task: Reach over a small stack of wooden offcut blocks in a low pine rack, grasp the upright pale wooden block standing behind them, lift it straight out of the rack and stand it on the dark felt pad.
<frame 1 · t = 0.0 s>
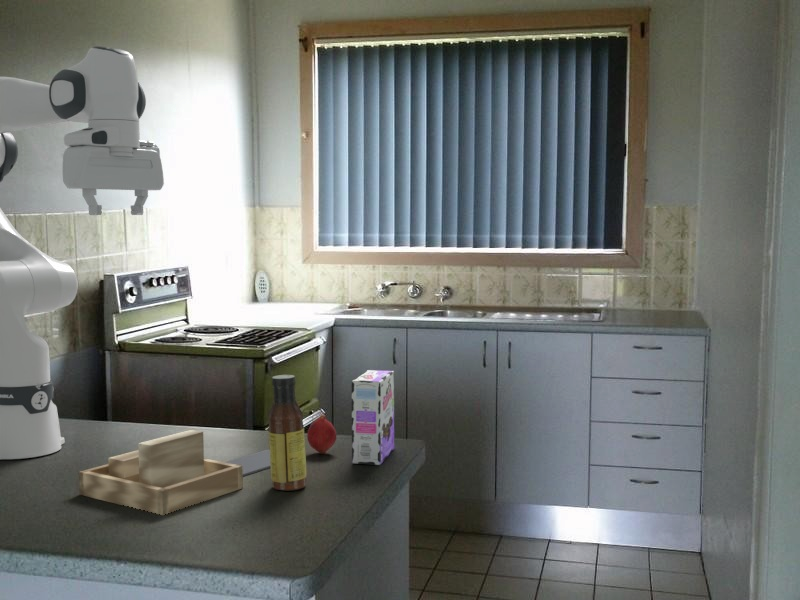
hand: (116, 215, 175), 48 cm above the counter, fingers open, 8 cm apart
offcut beech: (134, 471, 171), point 3 cm above the counter
offcut walnut: (153, 482, 174), resting in rack
onion: (322, 454, 193), on the counter
pale wooden block: (173, 494, 166), resting in rack
sauce bottle: (288, 488, 170), on the counter
offcut oak: (117, 492, 168), resting in rack
rack: (162, 491, 167), on the counter
candy box: (373, 457, 191), on the counter
felt pad: (255, 463, 186), on the counter
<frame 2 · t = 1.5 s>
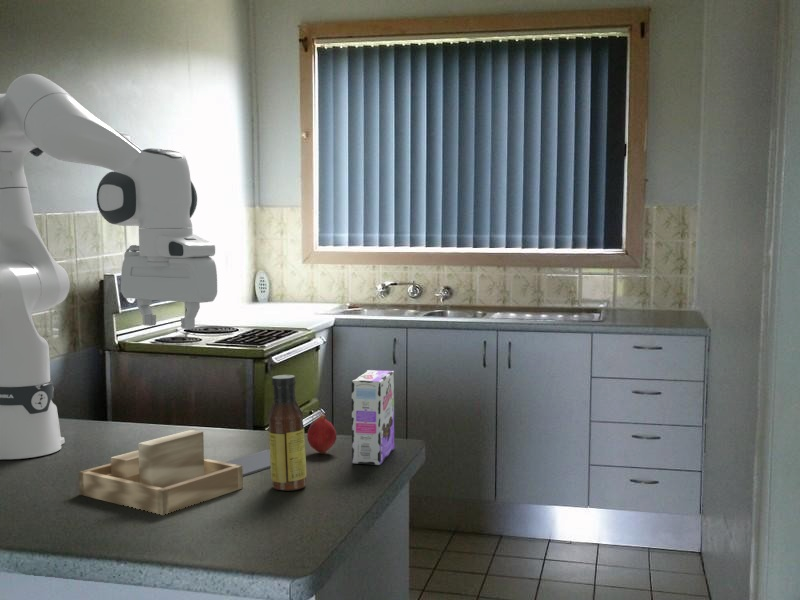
hand: (168, 327, 163), 29 cm above the counter, fingers open, 8 cm apart
offcut beech: (136, 470, 171), point 3 cm above the counter, touching offcut oak, offcut walnut
offcut walnut: (155, 481, 175), resting in rack, touching offcut beech
offcut oak: (115, 493, 167), resting in rack, touching offcut beech
everything else where it was.
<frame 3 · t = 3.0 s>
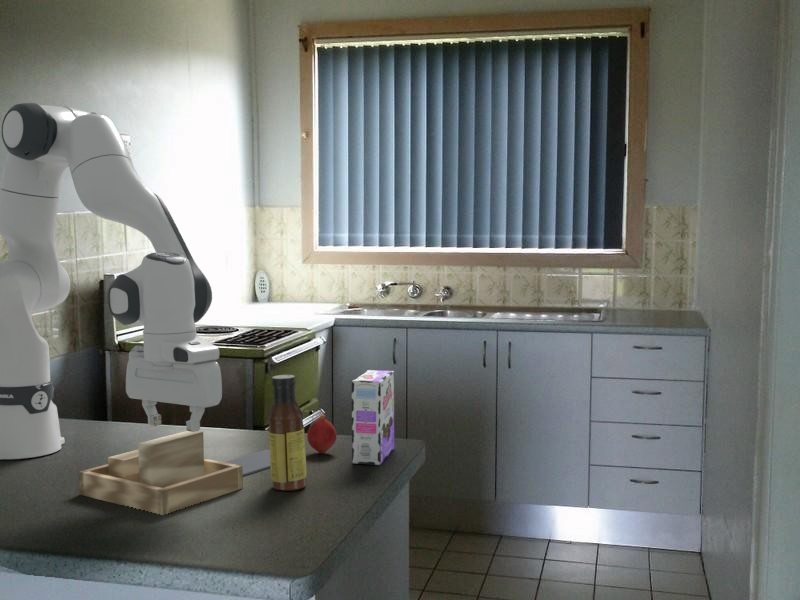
hand: (173, 428, 165), 12 cm above the counter, fingers open, 8 cm apart
offcut beech: (134, 470, 171), point 3 cm above the counter, touching offcut oak
offcut walnut: (156, 481, 175), resting in rack
everything else where it was.
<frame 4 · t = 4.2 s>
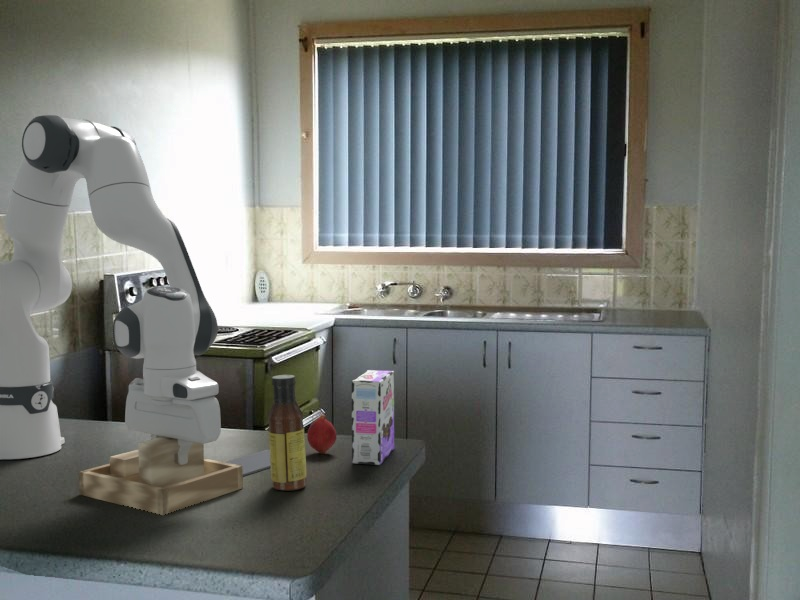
hand: (172, 461, 165), 6 cm above the counter, fingers closed on pale wooden block, 3 cm apart
pale wooden block: (173, 493, 166), resting in rack, touching gripper
everything else where it was.
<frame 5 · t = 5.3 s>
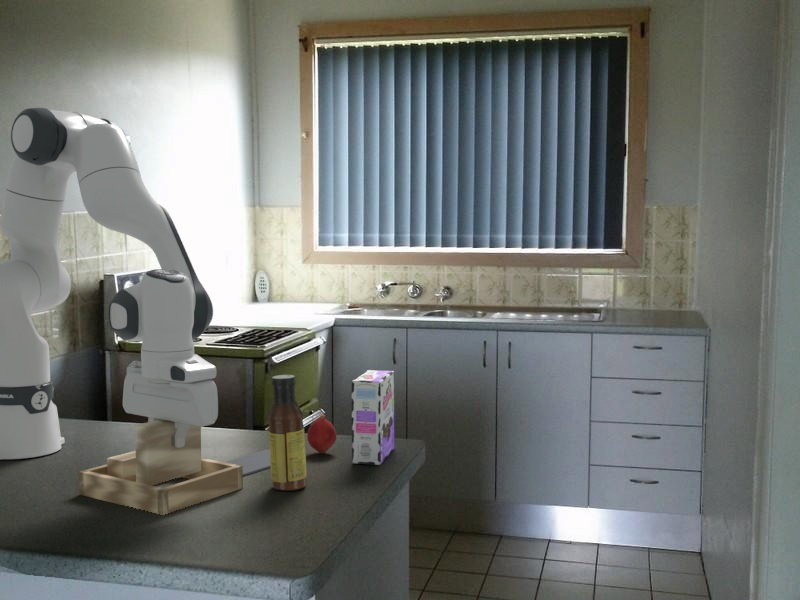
hand: (169, 444, 165), 9 cm above the counter, fingers closed on pale wooden block, 3 cm apart
offcut beech: (133, 471, 170), point 3 cm above the counter
pale wooden block: (169, 477, 166), point 3 cm above the counter, touching gripper
offcut oak: (116, 493, 167), resting in rack
everything else where it was.
when the fingers open (7 cm above the counter, at t = 12.2 s): pale wooden block drops 1 cm, resting on felt pad.
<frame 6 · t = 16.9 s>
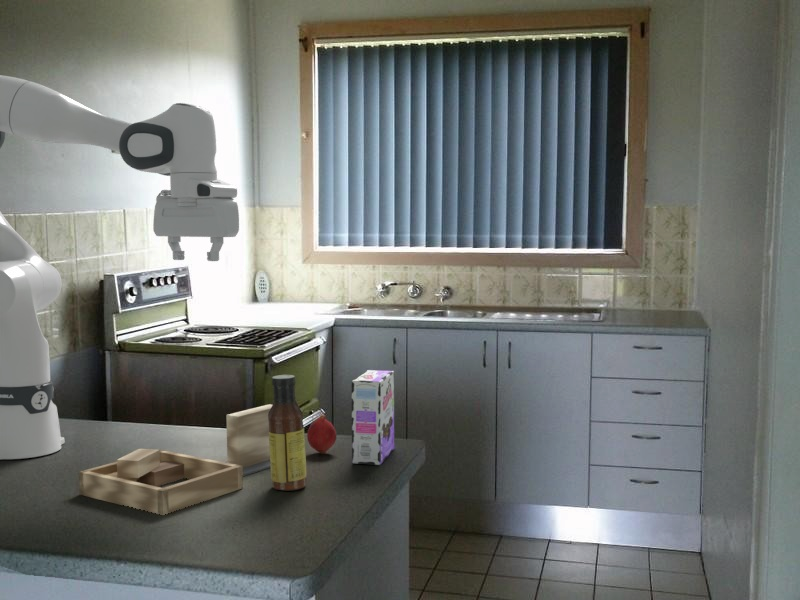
hand: (195, 260, 187), 39 cm above the counter, fingers open, 8 cm apart
offcut beech: (139, 471, 170), point 3 cm above the counter
offcut walnut: (162, 482, 174), resting in rack
pale wooden block: (255, 461, 186), resting on felt pad
everything else where it was.
at the end: pale wooden block inside the target area (0.1 cm from its centre), resting on felt pad; pale wooden block tilted 0°; the gripper is holding nothing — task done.
